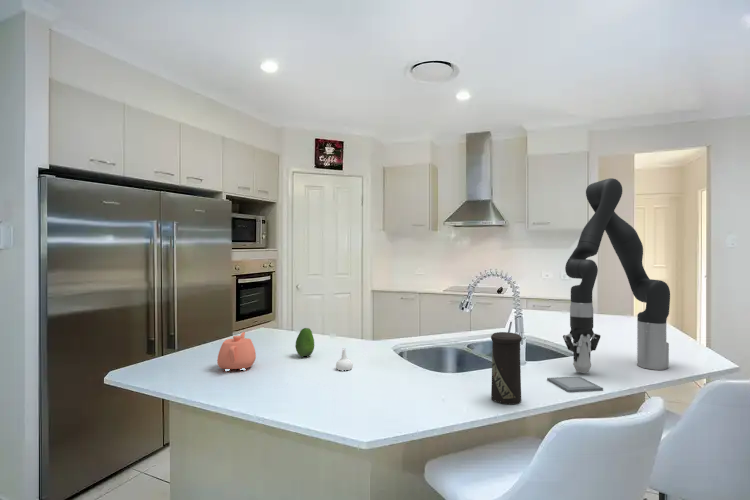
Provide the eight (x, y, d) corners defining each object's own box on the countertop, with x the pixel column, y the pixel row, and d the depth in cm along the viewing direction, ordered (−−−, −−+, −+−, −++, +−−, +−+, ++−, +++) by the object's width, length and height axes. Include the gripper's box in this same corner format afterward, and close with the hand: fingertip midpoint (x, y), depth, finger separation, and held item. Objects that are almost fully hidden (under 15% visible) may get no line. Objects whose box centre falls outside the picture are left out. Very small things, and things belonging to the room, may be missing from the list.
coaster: (579, 378, 144) (579, 376, 144) (603, 390, 132) (603, 387, 132) (547, 380, 142) (547, 377, 142) (568, 392, 130) (568, 389, 130)
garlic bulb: (355, 370, 155) (357, 349, 156) (343, 372, 151) (345, 350, 151) (344, 367, 160) (345, 346, 160) (332, 369, 155) (333, 347, 156)
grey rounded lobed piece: (593, 374, 146) (593, 337, 146) (575, 373, 147) (575, 336, 147) (588, 369, 152) (587, 333, 151) (571, 368, 153) (571, 333, 152)
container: (486, 395, 128) (486, 330, 128) (514, 394, 129) (514, 329, 129) (497, 405, 119) (497, 336, 119) (527, 404, 120) (527, 335, 120)
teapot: (260, 359, 168) (260, 330, 168) (249, 375, 148) (249, 341, 148) (226, 360, 167) (226, 330, 167) (211, 376, 147) (211, 342, 147)
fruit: (318, 355, 174) (318, 327, 174) (305, 360, 168) (305, 330, 167) (304, 353, 178) (304, 325, 178) (291, 357, 172) (291, 328, 172)
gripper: (592, 312, 154) (592, 358, 154) (557, 313, 152) (557, 360, 152) (606, 315, 146) (606, 364, 146) (569, 317, 144) (570, 366, 144)
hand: (581, 362), depth 149 cm, fingers closed on grey rounded lobed piece, 3 cm apart
